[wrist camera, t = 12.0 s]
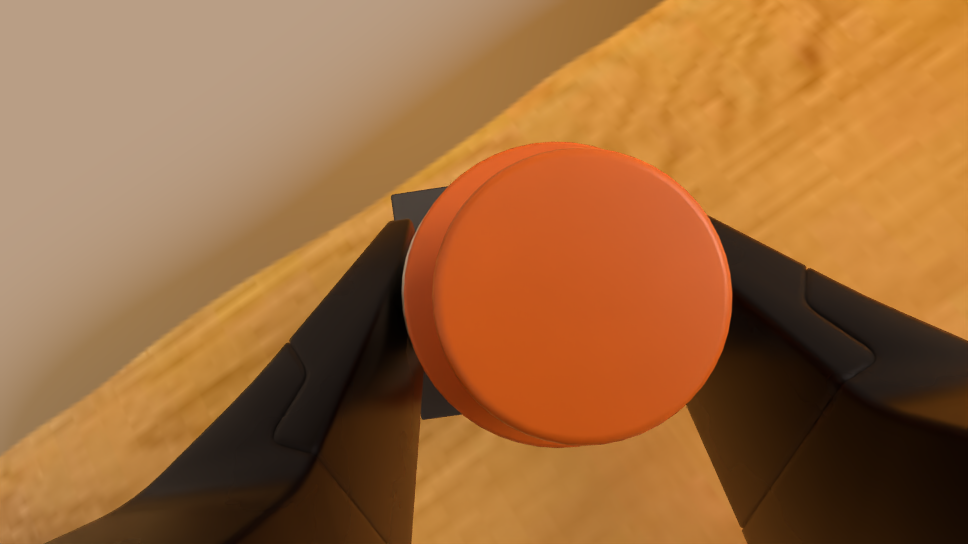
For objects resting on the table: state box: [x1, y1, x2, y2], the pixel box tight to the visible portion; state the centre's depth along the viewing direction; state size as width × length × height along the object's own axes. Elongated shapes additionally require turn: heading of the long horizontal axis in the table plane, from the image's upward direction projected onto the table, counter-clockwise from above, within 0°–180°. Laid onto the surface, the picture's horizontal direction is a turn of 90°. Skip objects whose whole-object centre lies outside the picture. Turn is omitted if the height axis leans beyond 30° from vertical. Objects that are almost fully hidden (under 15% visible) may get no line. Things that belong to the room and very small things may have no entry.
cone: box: [391, 142, 732, 448], centre depth 9 cm, size 7×7×12 cm
